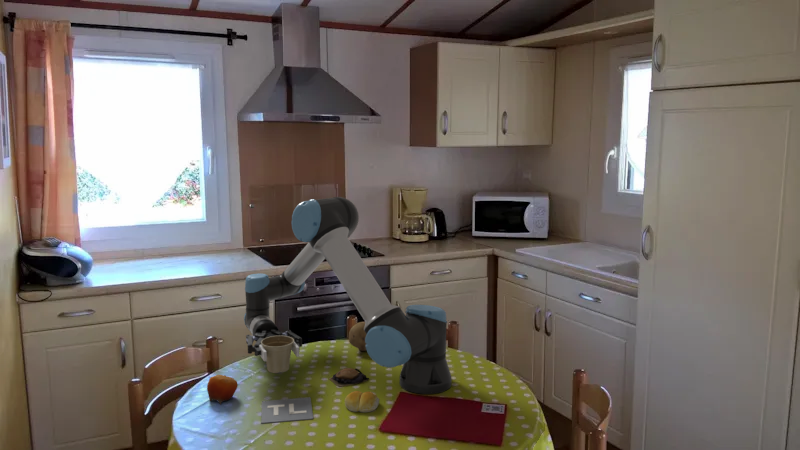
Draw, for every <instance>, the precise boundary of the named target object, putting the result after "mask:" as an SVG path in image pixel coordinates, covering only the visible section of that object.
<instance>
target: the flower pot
mask: <svg viewBox="0 0 800 450" xmlns="http://www.w3.org/2000/svg"><path fill="white" fill-rule="evenodd" d="M293 343H294V339H293V338H292V337H289V336H270V337H267V338H264V339H263V340H262V341H261V345H262V346H263V347H264V349H265V350H266V353H267V361H265V362H266V363H265V364H266V369H267V371H268V372H269V373H273V374H278V373H285V372H287V371H288V370H289V369H290V362H291V356H292V355H291V353H292V350H291V348H292V346H293Z"/></svg>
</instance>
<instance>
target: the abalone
mask: <svg viewBox="0 0 800 450" xmlns="http://www.w3.org/2000/svg"><path fill="white" fill-rule="evenodd" d="M328 380H329V381H331V382H332V383H333V384H334V385H336V386H337V387H338V388H342V387H347V386H353V385H357V384H361V383H365V382H368V381H369V380H370V378H369V377H367V375H366V374H364V373H363V372H362V371H361V370H360V369H358V368H352V367H346V368H343V369H340V370H339V371H338V372H336V373H335V374H333V375H332V376H331V377H329V378H328Z"/></svg>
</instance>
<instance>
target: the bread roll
mask: <svg viewBox="0 0 800 450" xmlns="http://www.w3.org/2000/svg"><path fill="white" fill-rule="evenodd" d="M379 404H380V398H379V397H378V395H376V394H375V393H374V392H372V391H365V392H362V391H359V390H354V391H352V392H350V393H349V394H347V395H346V397H345V398H344V405H345V407H346V409H347V410H348V411H350V412H354V413H357V412H360V413H370V412H373V411H375V410H376V409H377V408H378V406H379Z"/></svg>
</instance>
